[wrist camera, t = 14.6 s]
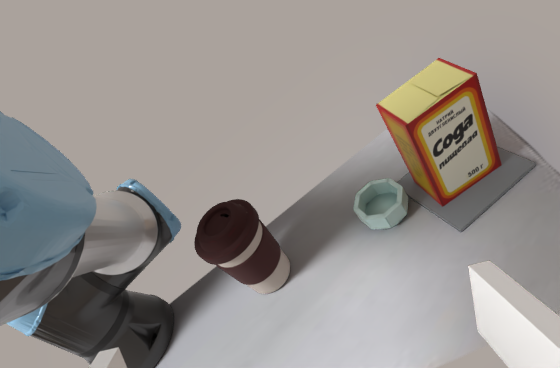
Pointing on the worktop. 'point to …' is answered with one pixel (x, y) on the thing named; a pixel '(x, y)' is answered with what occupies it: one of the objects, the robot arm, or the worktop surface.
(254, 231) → the coffee cup
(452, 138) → the baking soda box
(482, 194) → the mat
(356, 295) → the worktop surface
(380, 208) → the bowl
